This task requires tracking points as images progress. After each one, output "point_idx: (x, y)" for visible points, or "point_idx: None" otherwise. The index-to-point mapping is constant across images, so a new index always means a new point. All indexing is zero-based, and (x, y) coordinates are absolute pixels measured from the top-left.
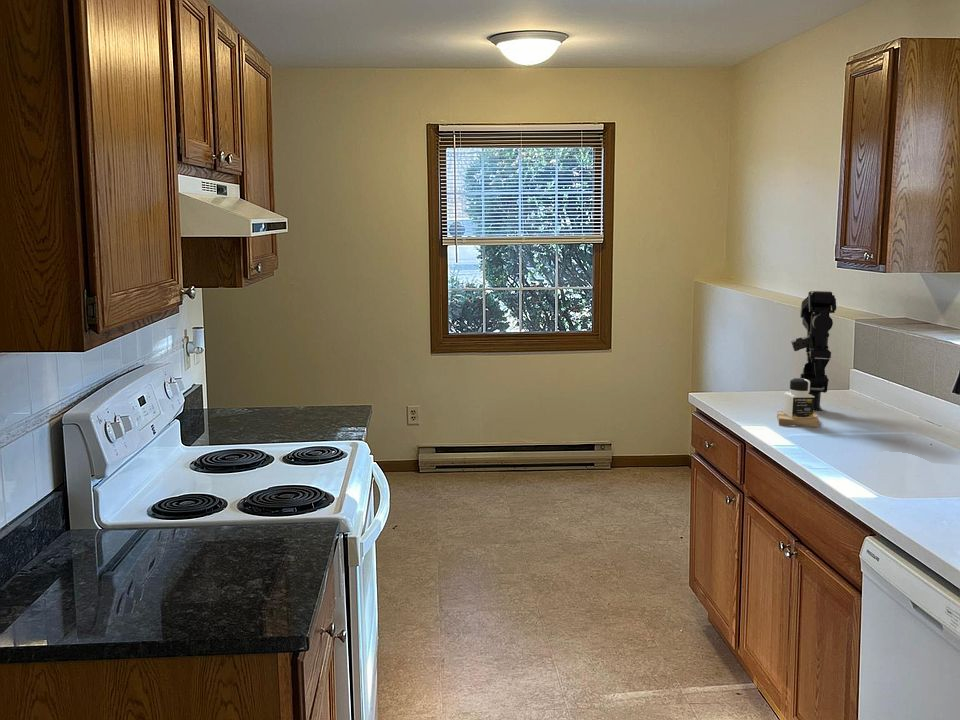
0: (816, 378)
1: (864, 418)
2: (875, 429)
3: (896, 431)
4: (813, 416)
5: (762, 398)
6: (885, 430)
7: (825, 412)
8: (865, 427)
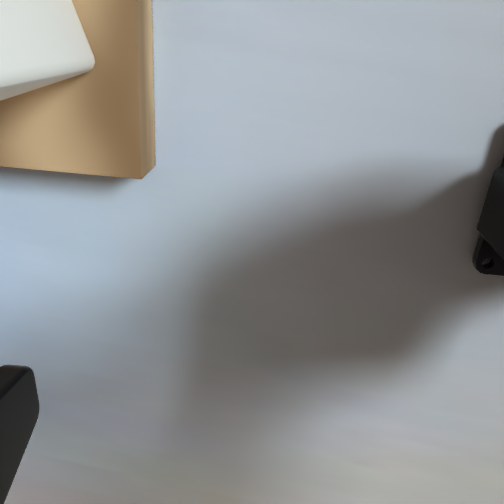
0: (2, 368)
1: (274, 450)
2: None
3: None
4: (5, 136)
5: None
6: None
7: (431, 283)
8: None
